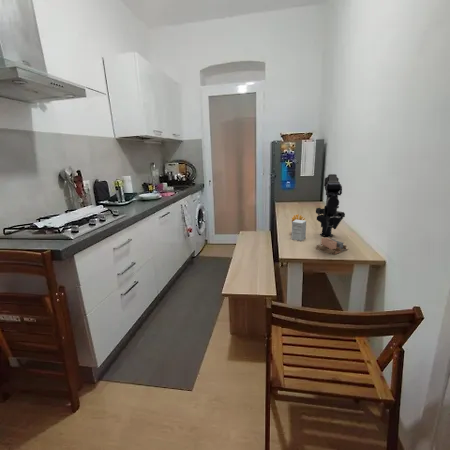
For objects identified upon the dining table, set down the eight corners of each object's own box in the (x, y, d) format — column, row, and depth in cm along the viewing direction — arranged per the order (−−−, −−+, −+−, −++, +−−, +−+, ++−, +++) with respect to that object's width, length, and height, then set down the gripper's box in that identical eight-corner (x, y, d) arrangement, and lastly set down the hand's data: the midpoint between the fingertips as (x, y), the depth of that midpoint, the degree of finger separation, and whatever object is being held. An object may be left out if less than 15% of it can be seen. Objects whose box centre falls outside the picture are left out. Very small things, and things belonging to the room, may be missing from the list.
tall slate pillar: (326, 246, 160) (326, 239, 159) (329, 244, 162) (330, 238, 161) (339, 250, 153) (339, 243, 152) (342, 248, 155) (343, 242, 153)
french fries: (291, 236, 183) (292, 215, 179) (290, 232, 190) (291, 212, 186) (304, 236, 181) (305, 215, 177) (303, 232, 189) (304, 212, 185)
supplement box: (295, 236, 181) (296, 219, 178) (305, 238, 177) (306, 220, 174) (290, 239, 176) (291, 221, 173) (301, 241, 171) (302, 223, 168)
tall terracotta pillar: (321, 244, 157) (321, 238, 156) (325, 243, 158) (326, 237, 157) (331, 249, 149) (331, 242, 148) (336, 248, 150) (336, 242, 149)
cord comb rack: (315, 248, 158) (315, 244, 157) (328, 244, 164) (328, 240, 164) (334, 255, 147) (334, 251, 146) (347, 250, 154) (348, 246, 153)
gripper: (329, 200, 158) (327, 224, 162) (309, 204, 148) (308, 230, 153) (346, 203, 149) (344, 228, 153) (326, 207, 139) (324, 234, 144)
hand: (329, 230), depth 151 cm, fingers open, 9 cm apart
